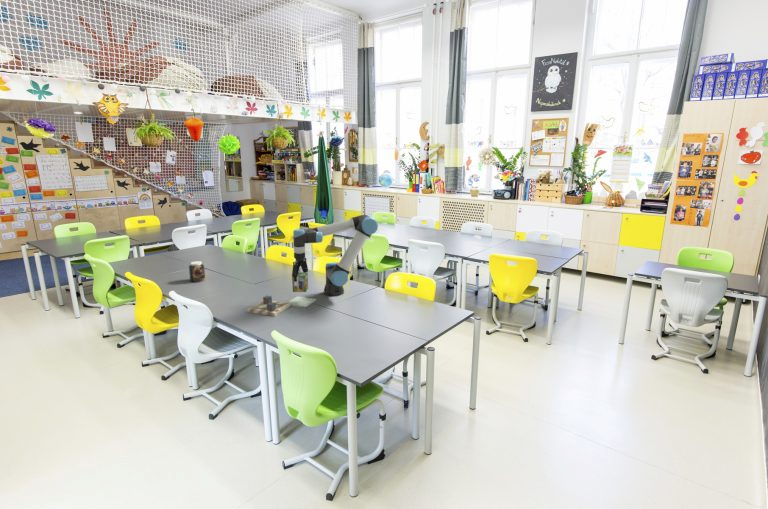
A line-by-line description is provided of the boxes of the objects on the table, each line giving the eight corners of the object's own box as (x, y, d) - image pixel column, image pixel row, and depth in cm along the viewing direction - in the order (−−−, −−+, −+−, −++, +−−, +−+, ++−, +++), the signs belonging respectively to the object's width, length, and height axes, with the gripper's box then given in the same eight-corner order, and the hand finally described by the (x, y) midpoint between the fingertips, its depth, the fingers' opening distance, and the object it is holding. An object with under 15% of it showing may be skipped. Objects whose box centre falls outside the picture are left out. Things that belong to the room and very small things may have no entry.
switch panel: (290, 306, 277) (290, 303, 276) (274, 316, 259) (274, 313, 259) (265, 302, 283) (265, 299, 282) (248, 312, 265) (248, 309, 265)
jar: (186, 281, 328) (184, 263, 325) (197, 277, 339) (195, 260, 335) (198, 283, 324) (196, 264, 321) (208, 279, 335) (207, 261, 332)
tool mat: (316, 300, 289) (316, 298, 288) (305, 307, 275) (305, 305, 275) (297, 297, 293) (297, 296, 293) (286, 304, 279) (286, 303, 279)
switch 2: (275, 308, 265) (275, 302, 264) (272, 310, 261) (272, 304, 260) (270, 307, 266) (270, 302, 265) (267, 310, 263) (266, 304, 262)
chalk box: (305, 292, 277) (304, 271, 274) (292, 292, 278) (291, 271, 274) (308, 288, 286) (308, 267, 283) (295, 287, 287) (294, 267, 283)
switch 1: (271, 301, 277) (271, 296, 276) (268, 303, 274) (268, 298, 273) (266, 301, 279) (266, 295, 278) (263, 303, 275) (263, 297, 274)
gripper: (303, 248, 287) (304, 278, 293) (285, 255, 266) (286, 287, 271) (312, 249, 285) (313, 279, 290) (295, 256, 264) (296, 289, 269)
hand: (300, 283), depth 281 cm, fingers closed on chalk box, 10 cm apart
